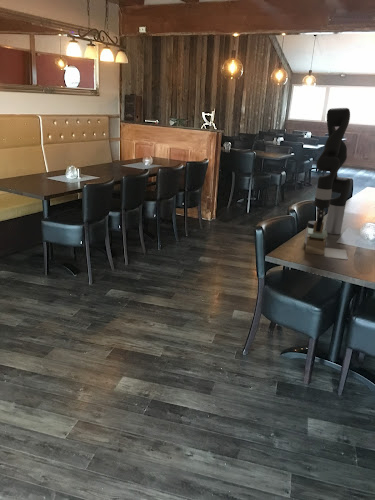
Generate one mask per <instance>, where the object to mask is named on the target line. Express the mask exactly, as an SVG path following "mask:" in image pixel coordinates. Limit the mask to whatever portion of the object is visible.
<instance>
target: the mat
mask: <svg viewBox="0 0 375 500" xmlns="http://www.w3.org/2000/svg"><path fill="white" fill-rule="evenodd" d="M324 258H329V259H337V260H343V261H344V260H345V261H348V254H347V251H346V249H341V248H340V249H339V248H334V247H333V248H332V247H325V250H324Z"/></svg>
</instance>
